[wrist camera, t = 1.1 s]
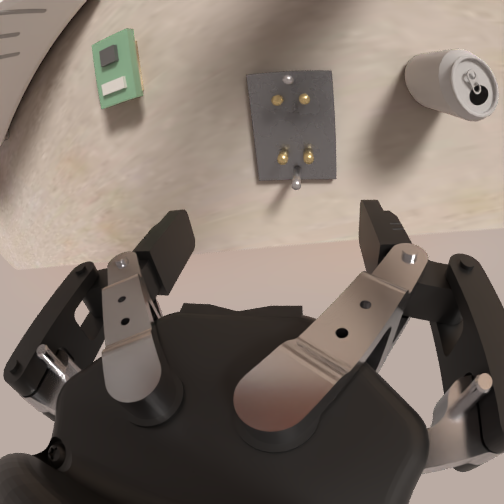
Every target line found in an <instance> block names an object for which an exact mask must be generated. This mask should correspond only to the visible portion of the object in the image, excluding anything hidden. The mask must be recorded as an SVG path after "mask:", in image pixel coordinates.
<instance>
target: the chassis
mask: <svg viewBox="0 0 504 504" xmlns="http://www.w3.org/2000/svg"><path fill="white" fill-rule="evenodd" d="M246 77H247V84H248V92H249V100H250V108H251V116H252V124H253V132H254V140H255V149H256V157H257V166H258V174H259V181H263V180H292V188H293V189H294V190H298V189H300V187H301V179H336V134H335V112H334V96H333V83H332V72H331V71H323V70H319V71H286V72H272V73H260V74H251V75H246Z"/></svg>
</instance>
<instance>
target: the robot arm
mask: <svg viewBox="0 0 504 504" xmlns="http://www.w3.org/2000/svg"><path fill="white" fill-rule="evenodd" d="M359 244H360V248H361V252H362V256H363V259H364V264H365V268H366V271H363V272H361V273H360V274H359V275H358V276H357V277H356V279H355V280H354V281H353V282H352V283H351V284H350V285H349V286H348V288H346V289H345V291H344V292H343V293H342V294H341V295H340V296H339V297H338V298H337V299H336V300H335V301H334V302H333V303H332V304H331V305H330V306H329V307H328V308H327V309H326V310H325V311H324V312H323V313H322V314H321V315H320V316H319V318H317V319H315V318H312V317H308V316H304V315H303V313H302V306H267V307H262V308H256V309H250V310H244V311H233V310H230V309H226V308H222V307H218V306H214V305H210V304H188V303H184V304H183V306H182V308H181V310H180V312H176V313H172V314H169V315H166V316H163V315H162V312H161V309H160V306H159V303H158V301H157V300H156V296H157V295H169V293H170V291H171V290H172V288H173V286H174V284H175V282H176V281H177V279H178V277H179V275H180V273H181V272H182V270H183V268H184V266H185V264H186V263H187V261H188V259H189V257H190V256H191V254H192V252H193V251H194V248H195V238H194V234H193V231H192V227H191V224H190V220H189V217H188V214H187V212H186V210H174V211H169V212H168V213H167V214H166V216H165V217H164V218H163V219H162V220H161V221H160V222H159V223H158V224H157V225H155V226H154V227H153V228H152V229H151V230H150V231H149V232H148V234H147V235H146V236H145V237H144V239H142V240H141V242H140V243H139V244H138V245H137V246H136V248H135V249H134V250H133V251H132V252H131V251H129V252H124V253H121V254H119V255H117V256H115V257H114V258H113V259H112V260H111V261H110V262H109V263H108V266H107V268H106V269H102V270H98V271H97V269H96V267H95V266H94V263H93V262H85V263H82V264H80V265H78V266H77V267H76V268H74V269H73V270H72V271H71V273H70V274H69V275H68V276H67V278H66V279H65V280H64V281H63V283H62V284H61V285H60V286H59V288H58V289H57V290H56V291H55V293H54V294H53V295H52V297H51V298H50V299H49V301H48V302H47V303H46V305H45V306H44V307H43V309H42V310H41V312H40V313H39V315H38V316H37V317H36V319H35V320H34V321H33V323H32V324H31V326H30V327H29V329H28V330H27V332H26V334H25V335H24V336H23V338H22V340H21V341H20V343H19V344H18V346H17V347H16V349H15V351H14V352H13V354H12V356H11V357H10V359H9V361H8V362H7V364H6V367H5V369H4V379H5V381H6V382H7V383H8V384H9V385H10V386H11V387H12V388H13V389H14V390H16V391H17V392H18V393H19V395H20V396H21V397H22V398H23V399H25V400H26V401H27V402H28V403H29V404H31V405H32V406H33V407H34V408H36V409H37V410H38V411H40V412H42V413H43V414H44V415H46V416H47V417H49V418H50V419H51V420H53V421H55V423H54V429H53V433H52V438H51V441H50V443H49V445H48V447H47V448H46V449H45V450H44V451H42V452H41V453H38V454H35V455H29V454H24V453H13V454H8V455H6V456H4V457H2V458H1V459H0V504H408V503H409V500H410V498H411V495H412V493H413V490H414V488H415V486H416V484H417V482H418V480H419V478H420V476H421V474H425V473H430V472H435V471H440V470H444V469H448V468H454V469H455V470H457V471H460V472H466V471H469V470H472V469H474V468H476V467H478V466H480V465H482V464H484V463H486V462H488V461H489V460H491V459H493V458H495V457H497V456H498V455H500V454H502V453H504V308H503V306H502V304H501V302H500V300H499V298H498V296H497V294H496V292H495V290H494V288H493V286H492V284H491V283H490V280H489V279H488V277H487V275H486V273H485V271H484V270H483V268H482V266H481V265H480V263H479V262H478V261H477V260H476V259H474V258H473V257H471V256H469V255H465V254H455V255H453V256H451V257H450V260H449V263H448V265H447V264H442V263H437V262H433V261H430V260H428V255H427V253H426V252H425V251H424V250H423V249H422V248H420V247H419V246H417V245H414V244H412V243H411V241H410V239H409V237H408V235H407V233H406V232H405V230H404V228H403V226H402V224H401V223H400V221H399V219H398V217H397V216H396V215H394V214H393V213H392V212H390V211H383V209H382V207H381V205H380V203H379V201H378V200H361V202H360V220H359ZM82 300H83V302H84V303H85V305H86V306H87V308H88V310H89V311H90V312H89V314H88V315H87V317H86V319H85V320H84V322H83V323H82V325H81V327H80V326H79V325H78V324H77V322H76V320H75V317H74V313H75V310H76V308H77V307H78V305H79V304H80V302H81V301H82ZM411 317H412V318H417V319H422V320H428V321H430V325H431V329H432V333H433V337H434V342H435V346H436V351H437V356H438V361H439V366H440V371H441V377H442V383H443V390H444V395H443V397H442V398H441V399H440V400H439V401H438V402H437V404H436V406H435V408H434V411H433V421H432V425H431V427H430V428H426V425H425V423H424V421H423V420H422V418H421V417H420V416H419V414H418V413H417V412H416V411H415V410H414V409H413V408H412V407H411V406H409V404H408V403H407V402H406V401H405V400H404V399H403V398H402V397H401V396H400V395H399V394H398V393H397V392H396V391H395V390H394V389H393V388H392V387H391V386H390V385H389V384H388V383H387V382H386V381H385V380H384V379H383V378H382V377H381V376H380V375H379V374H378V372H379V371H380V369H381V367H382V366H383V364H384V362H385V360H386V358H387V356H388V354H389V353H390V351H391V349H392V348H393V346H394V345H395V343H396V341H397V340H398V338H399V336H400V335H401V333H402V332H403V330H404V328H405V326H406V325H407V323H408V321H409V320H410V318H411ZM104 340H105V346H106V347H105V349H104V350H103V351H102V357H100V358H99V359H98V360H96V361H94V359H95V357H96V355H97V353H98V351H99V349H100V347H101V345H102V344H103V342H104ZM93 361H94V362H93Z"/></svg>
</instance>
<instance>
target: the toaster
mask: <svg viewBox="0 0 504 504" xmlns="http://www.w3.org/2000/svg"><path fill="white" fill-rule="evenodd" d="M86 1H87V0H0V146H1V145H2V143H3V141H4V139H8V138H9V133H8V131H7V130H8V128H9V125H10V123H11V120H12V118H13V116H14V113H15V111H16V109H17V107H18V105H19V103H20V100H21V98H22V96H23V94H24V92H25V90H26V88H27V86H28V85H29V83H30V81H31V79H32V77H33V75H34V74H35V72H36V70H37V68H38V67H39V65H40V63H41V62H42V60H43V59H44V57H45V55H46V54H47V52H48V51H49V49H50V48H51V46H52V45H53V43H54V42H55V40H56V39H57V37H58V36H59V35H60V33H61V32H62V30H63V29H64V28H65V26H66V25H67V24H68V23H69V21H70V20H71V19H72V17H73V16H74V15H75V14H76V13H77V11H78V10H79V9H80V8H81V7H82V5H83V4H84V3H85V2H86Z"/></svg>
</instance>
